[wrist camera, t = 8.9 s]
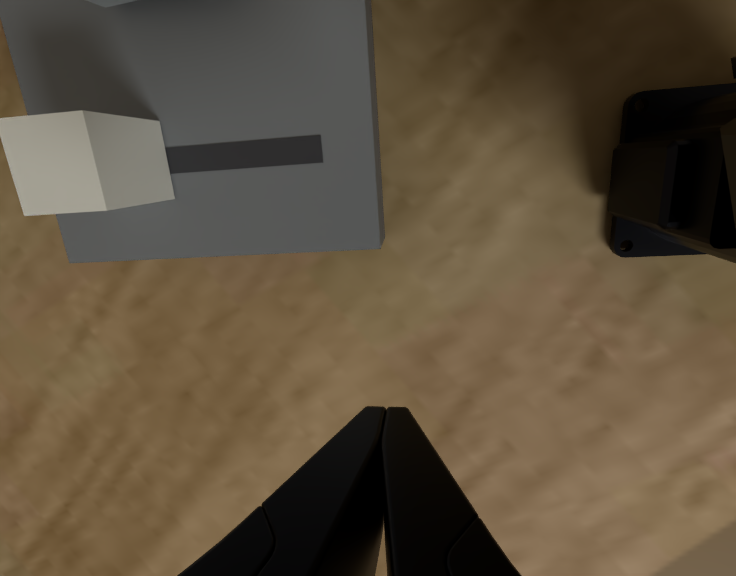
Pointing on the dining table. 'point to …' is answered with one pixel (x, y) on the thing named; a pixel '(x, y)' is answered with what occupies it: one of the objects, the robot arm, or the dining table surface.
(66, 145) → the off-white cube
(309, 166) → the switch console
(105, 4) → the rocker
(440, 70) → the dining table surface
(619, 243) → the robot arm
